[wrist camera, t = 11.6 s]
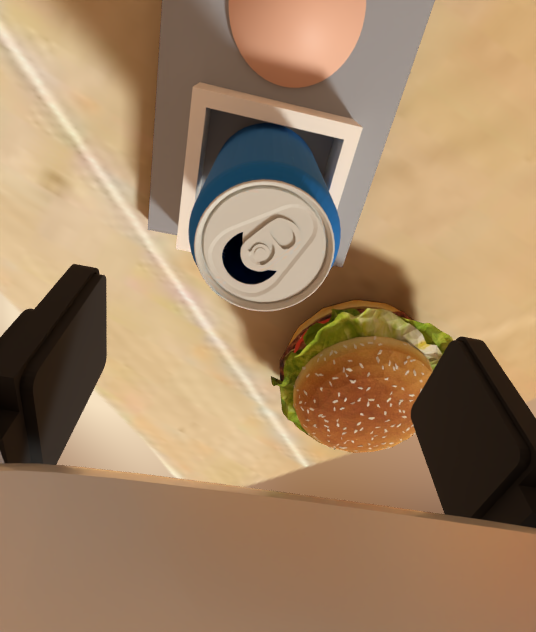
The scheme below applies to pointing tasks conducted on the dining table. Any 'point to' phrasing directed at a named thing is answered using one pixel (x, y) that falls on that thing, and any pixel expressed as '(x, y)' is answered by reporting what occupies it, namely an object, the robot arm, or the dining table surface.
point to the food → (358, 374)
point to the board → (279, 91)
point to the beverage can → (264, 221)
